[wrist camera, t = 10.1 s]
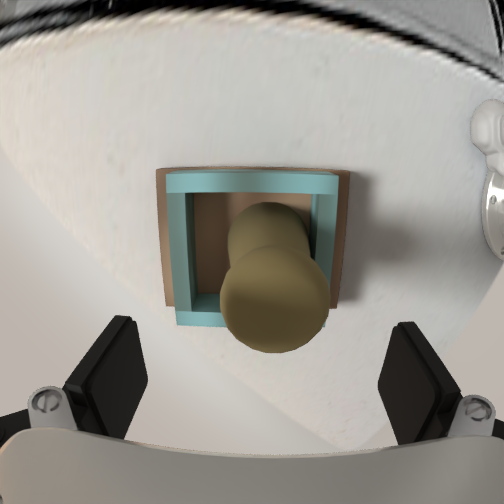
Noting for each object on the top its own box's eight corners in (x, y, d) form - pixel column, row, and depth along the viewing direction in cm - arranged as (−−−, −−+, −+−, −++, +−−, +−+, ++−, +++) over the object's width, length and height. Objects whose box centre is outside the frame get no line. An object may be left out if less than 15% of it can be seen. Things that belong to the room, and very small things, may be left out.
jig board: (345, 170, 23) (362, 176, 19) (333, 301, 27) (345, 327, 23) (160, 168, 23) (142, 173, 19) (169, 299, 27) (156, 325, 23)
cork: (305, 197, 23) (346, 243, 12) (311, 274, 25) (345, 363, 14) (221, 206, 23) (193, 260, 13) (233, 283, 25) (219, 377, 15)
